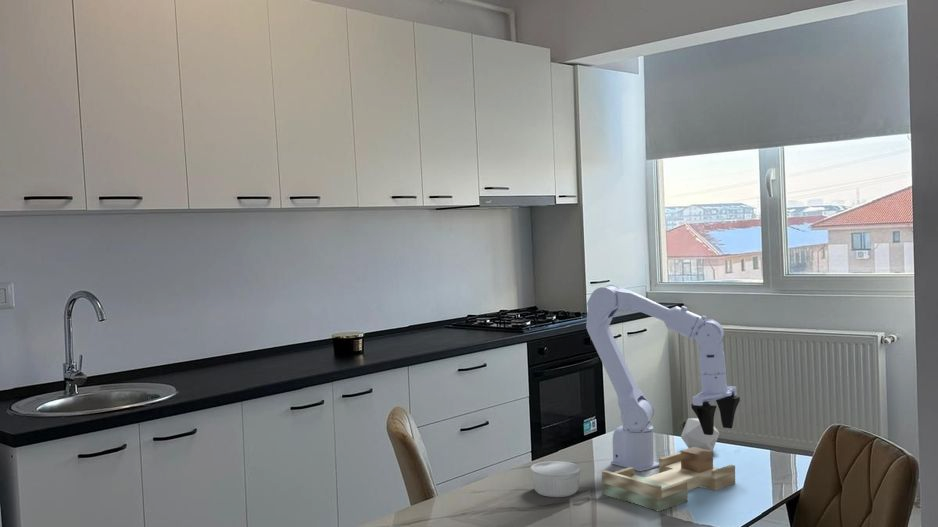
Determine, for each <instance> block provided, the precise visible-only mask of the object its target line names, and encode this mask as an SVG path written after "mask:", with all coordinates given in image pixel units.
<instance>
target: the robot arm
mask: <svg viewBox="0 0 938 527" xmlns="http://www.w3.org/2000/svg"><path fill="white" fill-rule="evenodd" d="M586 305H587V312H586V314H587V315H586V325H585V327H586V330H587V333H588V335H589V337H590V339H591V341H592V344H593V346H594V348H595V350H596V352H597V354H598V356H599V358H600V361H601V363H602V365H603V367H604V369H605V371H606V373H607V375H608V378H609V380H610V382H611V384H612V386H613V389H614V390H615V393H616V395H617V405H618V408H619V410H620V421H621V423H622V425H619V426H618V427H616V428H615V430H614V432H613V434H612V461H610V464H612V465H616V466H618V467H619V466H620V467H623V468H625V469H626V468H629V467H632V468H634V471H639V472H643V471H647V470H650V469H652V468H653V469H654V468H658V467H659V461H654V459H655V458H654V456H655V455H654V426H653V425H652V423H651V420H652V419H653V418H654V415H655V409H654V408H655V407H654V405H653V403H652V402H651V401H650V400H648V398H646V396H645V395H644V393H643V391H642V390H641V388H639V387H638V386H637V384H636V382H635V380H634V377H633V375H632V374H631V371H630V369H629V367H628V365H627V363H626V361H625V359H624V357H623V354H622V352H621V350H620V347H619V345H618V344H617V342H616V339H615V337H614V335H613V332H612V331H611V329H610V325H611V322H612V320H613V319H614V318H613V317H614V315H615V314H616V312H617V311H623V310H634V311H638V312H639V313H643V314H644V315H648V316H650V317H653V318H655V319H658V320H660V321H662V322H664V324H665V326H666V329H668V330H670V331H672V332H675V333H677V334H679V335H681V336H684V337H686V338H688V339H690V340H695V341H696V343H698V348H699V351H698V352H699V353H698V360H699V369H700V370H699V372H700V373H699V374H700V381H701V382H700V383H701V392H699V393H698V394H696V395H695V396H692V403H691V404H690V405H691V406H690V407H691V409H692V411H693V412H694V414H695V415H696V418H698V419H699V422H700V424H701V427H702V430H703V433H704V434H705V435H713V432H714V427H715V425H714V422H715V421H714V419H715V413H716V411H717V407H718V410H719V414H720V420H721V426H722V427H723V428H724V429H725V428H726V429H732V428H733V426H734V420H735V414H736V411H737V407H738V406H739V403H740V402H741V398H740V396H738V393H737V392H738V390H737V386H735V385H734V386H733V385H732V386H731V385H728V382H727V380H728V379H727V368H726V354H725V353H726V352H724V343H723V341H722V340H723V337H724V335H725V332H724V328H723V326H722V324H720V322H718V321H717V320H716V319H712V318H710V319H709V318H708V319H707V316H706V315H702V316H700V315H699V314H696V313H694V312H691V311H689V310H688V307H686V306H684V305H682V306H681V307H680V306H677V305H676V306H673V307H671V308H669V307H666V306H664V305H662V304H660V303H658V302H656V301H654V300H651V299H650V298H647V297H645V296H643V295H641V294H640V293H636V292H635V291H632V290H630V289H627V288H623V287H619V286H617V285H614V284H608V285H605V286H603V287H598V288H595V289H594V290H593V291H592V293H591V294H590V297H589V298H588V300H587V302H586ZM714 401H715V402H716V404H717V405H711V404H710V402H714Z"/></svg>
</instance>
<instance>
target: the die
mask: <svg viewBox="0 0 938 527" xmlns="http://www.w3.org/2000/svg"><path fill="white" fill-rule="evenodd" d="M719 435H720V432H719V431H718V429H717V428H716V427H715V426H714V432H713V435H705V434H704V433H703V430H702V427H701V424H700V422H699V419H698V417H695V418H694V417H693V418H689V417H688V418H687V419H686V422H685V424H684V428H683V429H682V432H681V435H680V438H681V439H682V441H683V442H684V444H685V445H686V446H687V449H688V448H692V447H698V448H702V449H707V450H711V451H713V452H714V448H715V445H716V443H717V441H718V439H719Z"/></svg>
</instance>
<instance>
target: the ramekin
mask: <svg viewBox="0 0 938 527" xmlns="http://www.w3.org/2000/svg"><path fill="white" fill-rule="evenodd" d="M529 468H530V470H529V471H530V474H531V478H532V479H531V480H532V486H533V489H534V490H535V492H536V493H537V494H538V495H541V496H544V497H547V498H548V497H550V498H564V497H570V496H572V495H575V494H576V493H577V491H578V490H579V485H580V479H581V473H582V467H581V466H580V465H578V464H577V463H573V462H569V461H561V460H560V461H559V460H558V461H557V460H555V461H554V460H553V461H552V460H551V461H542V462H538V463H534V464H531V466H530V467H529Z"/></svg>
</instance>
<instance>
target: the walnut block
mask: <svg viewBox="0 0 938 527" xmlns="http://www.w3.org/2000/svg"><path fill="white" fill-rule="evenodd" d="M680 453H681V468H682V469H686V470H690V471H694V472H698V473H701V472H704V471H707V470H710V469H713V467H714V450H713V451H711V450H707V449H702V448H698V447H692V448H688V447H687V448H686V449H682V450H680Z"/></svg>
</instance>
